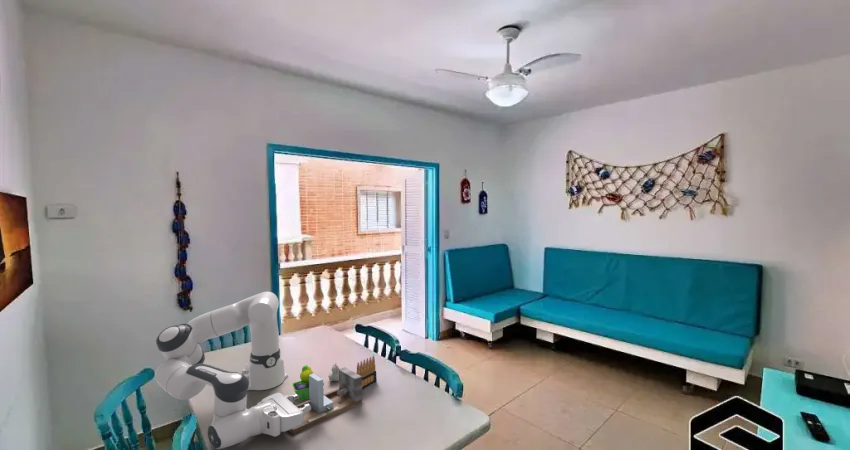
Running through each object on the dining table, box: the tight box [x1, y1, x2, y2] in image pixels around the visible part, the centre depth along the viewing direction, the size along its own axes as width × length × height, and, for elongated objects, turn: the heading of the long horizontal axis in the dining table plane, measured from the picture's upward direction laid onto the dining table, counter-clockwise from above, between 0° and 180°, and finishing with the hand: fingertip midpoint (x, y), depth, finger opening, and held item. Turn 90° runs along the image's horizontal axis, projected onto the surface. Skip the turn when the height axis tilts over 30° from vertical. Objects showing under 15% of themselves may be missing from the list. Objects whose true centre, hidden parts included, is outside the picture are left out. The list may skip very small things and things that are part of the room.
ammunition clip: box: [355, 355, 378, 391], centre depth 156 cm, size 11×2×12 cm, turn 143°
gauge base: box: [288, 366, 363, 435], centre depth 137 cm, size 12×28×10 cm, turn 134°
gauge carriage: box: [309, 373, 334, 413], centre depth 136 cm, size 10×6×12 cm, turn 44°
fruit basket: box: [292, 364, 325, 402], centre depth 150 cm, size 11×9×11 cm
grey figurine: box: [328, 363, 340, 382], centre depth 162 cm, size 5×7×8 cm
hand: (303, 401), depth 132 cm, fingers open, 8 cm apart
